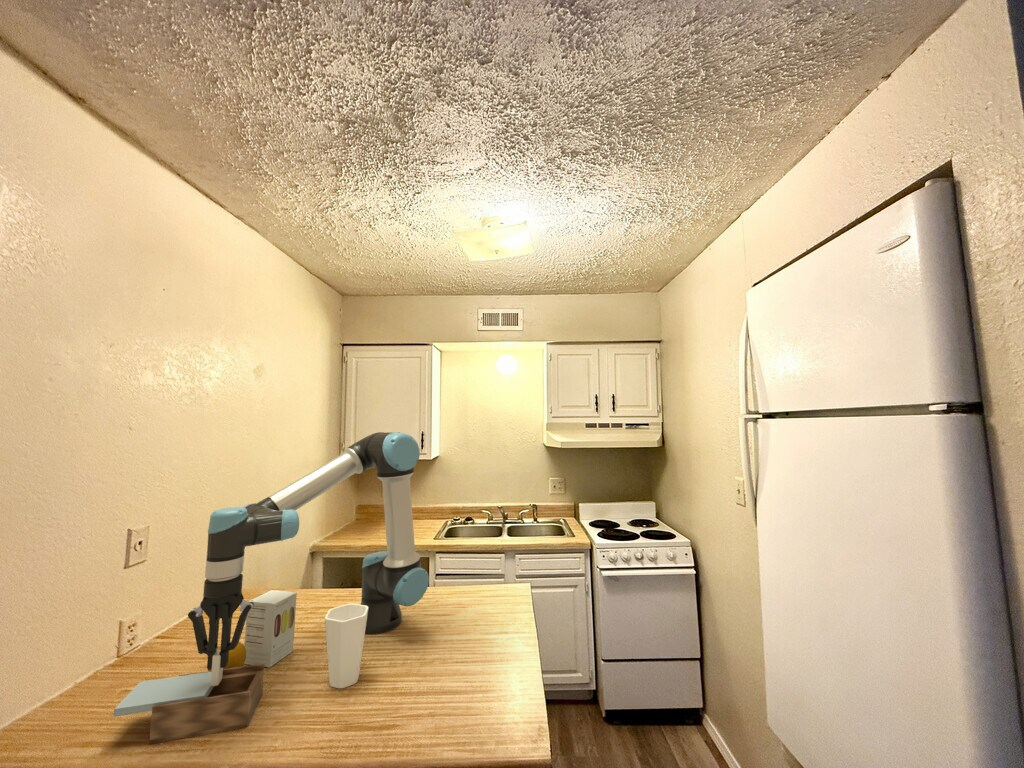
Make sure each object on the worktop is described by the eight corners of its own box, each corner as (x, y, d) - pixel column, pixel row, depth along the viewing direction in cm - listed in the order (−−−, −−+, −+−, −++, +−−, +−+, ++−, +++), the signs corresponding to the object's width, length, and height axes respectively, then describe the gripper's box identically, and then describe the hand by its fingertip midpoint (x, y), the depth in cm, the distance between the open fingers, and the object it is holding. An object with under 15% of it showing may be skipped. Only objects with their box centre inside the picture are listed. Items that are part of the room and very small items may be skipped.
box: (262, 694, 104) (264, 663, 105) (247, 727, 93) (249, 692, 93) (176, 707, 99) (179, 675, 100) (149, 744, 88) (152, 707, 88)
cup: (374, 673, 113) (376, 607, 115) (348, 696, 103) (351, 623, 105) (340, 666, 117) (343, 601, 118) (312, 687, 107) (316, 616, 109)
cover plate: (220, 677, 101) (220, 670, 101) (203, 702, 92) (203, 695, 92) (139, 688, 97) (140, 681, 97) (113, 716, 87) (114, 709, 87)
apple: (214, 694, 104) (217, 656, 105) (199, 683, 109) (202, 647, 110) (251, 676, 111) (253, 641, 112) (235, 667, 116) (237, 633, 117)
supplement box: (269, 668, 115) (273, 604, 117) (241, 664, 117) (245, 601, 119) (294, 650, 125) (297, 591, 126) (267, 647, 126) (271, 588, 128)
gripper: (259, 568, 105) (253, 669, 102) (198, 573, 101) (190, 678, 98) (250, 578, 98) (243, 687, 95) (184, 584, 94) (175, 697, 91)
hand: (216, 682), depth 97 cm, fingers closed
